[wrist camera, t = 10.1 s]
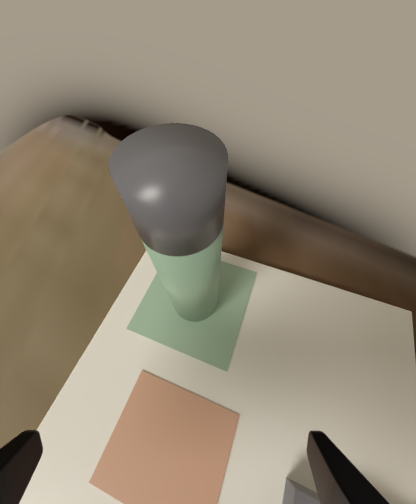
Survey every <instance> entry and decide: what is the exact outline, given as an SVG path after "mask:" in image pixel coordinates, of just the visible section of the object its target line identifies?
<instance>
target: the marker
mask: <svg viewBox="0 0 416 504" xmlns="http://www.w3.org/2000/svg"><path fill="white" fill-rule="evenodd" d="M227 164H228V153H227V149H226V147H225V145H224V144H223V142H222V141H221V140H220V139H219V138H218V137H217V136H216V135H215V134H213V133H211V132H210V131H208V130H206V129H203V128H201V127H198V126H194V125H189V124H180V123H170V124H161V125H155V126H151V127H147V128H144V129H142V130H139V131H137V132H135V133H133V134H131V135H130V136H128V137H126V138H125V139H124V140H123V141H121V142H120V143H119V144H118V145H117V147H116V148H115V149H114V151H113V152H112V154H111V157H110V160H109V172H110V175H111V177H112V179H113V181H114V184H115V186H116V188H117V190H118V192H119V194H120V196H121V198H122V200H123V202H124V204H125V206H126V209H127V211H128V213H129V215H130V217H131V219H132V221H133V223H134V225H135V227H136V229H137V231H138V233H139V236H140V238H141V240H142V242H143V244H144V246H145V248H146V250H147V252H148V254H149V256H150V258H151V260H152V263H153V265H154V267H155V269H156V271H157V273H158V275H159V277H160V279H161V281H162V283H163V285H164V288H165V290H166V292H167V294H168V296H169V298H170V300H171V302H172V304H173V306H174V308H175V310H176V312H177V313H178V315H179V316H180V317H182V318H183V319H185V320H188V321H192V322H197V321H202V320H205V319H207V318H208V317H209V316H211V315H212V314H213V312H214V311H215V309H216V307H217V304H218V293H219V278H220V264H221V250H222V236H223V221H224V207H225V193H226V178H227Z"/></svg>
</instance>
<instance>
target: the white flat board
mask: <svg viewBox="0 0 416 504" xmlns="http://www.w3.org/2000/svg"><path fill="white" fill-rule="evenodd" d="M37 431H39V433H40V437H41V441H42V445H43V453H42V456H41V459H40V461H39V463H38V465H37V467H36V469H35V471H34V474H33V476H32V478H31V480H30V482H29V484H28V486H27V488H26V490H25V493H24V495H23V497H22V499H21V501H20V503H19V504H320V501H319V497H318V493H317V490H316V486H315V483H314V479H313V475H312V472H311V468H310V464H309V461H308V457H307V441H308V434H309V432H310V431H322V432H324V433H325V434H326V435H327V436H328V438H329V439H330V440H331V441H332V442H333V443H334V444H335V445H336V446H337V447H338V448H339V449H340V451H341V452H342V453H343V454H344V455H345V456H346V457H347V458H348V459H349V460H350V461H351V462H352V464H353V465H354V466H355V467H356V468H357V469H358V470H359V471H360V472H361V473H362V474H363V475H364V477H365V478H366V479H367V480H368V481H369V482H370V483H371V484H372V485H373V486H374V487H375V488H376V489H377V491H378V492H379V493H380V494H381V495H382V496H383V497H384V498H385V499H386V500H387V501H388V502H389V504H416V361H415V348H414V335H413V321H412V312H411V311H408V310H405V309H402V308H399V307H396V306H392V305H389V304H386V303H383V302H380V301H377V300H374V299H370V298H367V297H364V296H361V295H358V294H355V293H351V292H348V291H345V290H342V289H339V288H336V287H333V286H329V285H326V284H323V283H320V282H317V281H314V280H311V279H307V278H304V277H301V276H298V275H295V274H292V273H289V272H285V271H282V270H279V269H276V268H273V267H270V266H266V265H263V264H260V263H257V262H254V261H251V260H248V259H244V258H241V257H238V256H235V255H232V254H229V253H226V252H222V251H221V264H220V278H219V293H218V304H217V307H216V309H215V311H214V312H213V314H212V315H211V316H209V317H208V318H207V319H205V320H202V321H197V322H192V321H188V320H185V319H183V318H182V317H180V316H179V315H178V313H177V312H176V310H175V308H174V306H173V304H172V302H171V300H170V298H169V296H168V294H167V292H166V290H165V288H164V285H163V283H162V281H161V279H160V277H159V275H158V273H157V271H156V269H155V267H154V265H153V263H152V260H151V258H150V256H149V254H148V252H147V250H146V252H145V253H144V255H143V257H142V258H141V260H140V262H139V263H138V265H137V267H136V268H135V270H134V271H133V273H132V275H131V276H130V278H129V280H128V281H127V283H126V285H125V286H124V288H123V289H122V291H121V293H120V294H119V296H118V298H117V299H116V301H115V303H114V304H113V306H112V308H111V309H110V311H109V312H108V314H107V316H106V317H105V319H104V321H103V322H102V324H101V326H100V327H99V329H98V330H97V332H96V334H95V335H94V337H93V339H92V340H91V342H90V344H89V345H88V347H87V349H86V350H85V352H84V353H83V355H82V357H81V358H80V360H79V362H78V363H77V365H76V367H75V368H74V370H73V371H72V373H71V375H70V376H69V378H68V380H67V381H66V383H65V385H64V386H63V388H62V390H61V391H60V393H59V394H58V396H57V398H56V399H55V401H54V403H53V404H52V406H51V408H50V409H49V411H48V413H47V414H46V416H45V417H44V419H43V421H42V422H41V424H40V426H39V427H38V429H37Z"/></svg>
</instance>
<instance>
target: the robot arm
mask: <svg viewBox="0 0 416 504" xmlns="http://www.w3.org/2000/svg"><path fill="white" fill-rule="evenodd" d="M42 453H43V445H42V441H41V437H40V433H39V431H37V430H26V431H24V432H22V433H20V434H19V435H18V436H17V437H15V438H14V439H13V440H11V441H10V442H9V443H7V444H6V445H5V446H3V447H2V448H1V449H0V504H19V503H20V501H21V499H22V497H23V495H24V493H25V490H26V488H27V486H28V484H29V482H30V480H31V478H32V476H33V474H34V471H35V469H36V467H37V465H38V463H39V461H40V459H41V456H42ZM307 457H308V461H309V464H310V468H311V472H312V475H313V479H314V483H315V486H316V490H317V493H318V497H319V501H320V504H389V502H388V501H387V500H386V499H385V498H384V497H383V496H382V495H381V494H380V493H379V492H378V491H377V489H376V488H375V487H374V486H373V485H372V484H371V483H370V482H369V481H368V480H367V479H366V478H365V477H364V475H363V474H362V473H361V472H360V471H359V470H358V469H357V468H356V467H355V466H354V465H353V464H352V462H351V461H350V460H349V459H348V458H347V457H346V456H345V455H344V454H343V453H342V452H341V451H340V449H339V448H338V447H337V446H336V445H335V444H334V443H333V442H332V441H331V440H330V439H329V438H328V436H327V435H326V434H325V433H324V432H322V431H310V432H309V434H308V441H307Z"/></svg>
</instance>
